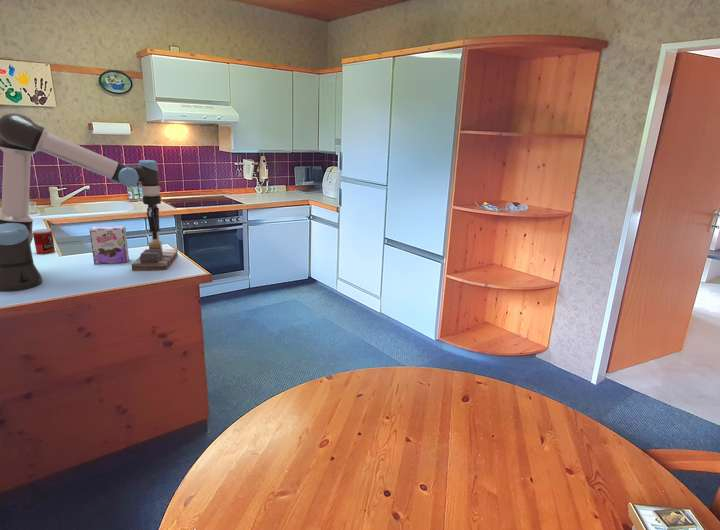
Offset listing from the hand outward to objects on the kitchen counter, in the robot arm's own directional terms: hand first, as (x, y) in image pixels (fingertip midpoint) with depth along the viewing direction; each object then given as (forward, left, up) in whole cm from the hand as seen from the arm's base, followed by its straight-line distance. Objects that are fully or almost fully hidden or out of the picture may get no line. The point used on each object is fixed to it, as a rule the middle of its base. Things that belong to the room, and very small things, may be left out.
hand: (156, 245), depth 213 cm
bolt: (-5, 0, -4) cm, 7 cm away
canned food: (+21, +57, -8) cm, 61 cm away
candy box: (-1, +20, -8) cm, 21 cm away
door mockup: (-4, 0, -7) cm, 8 cm away
